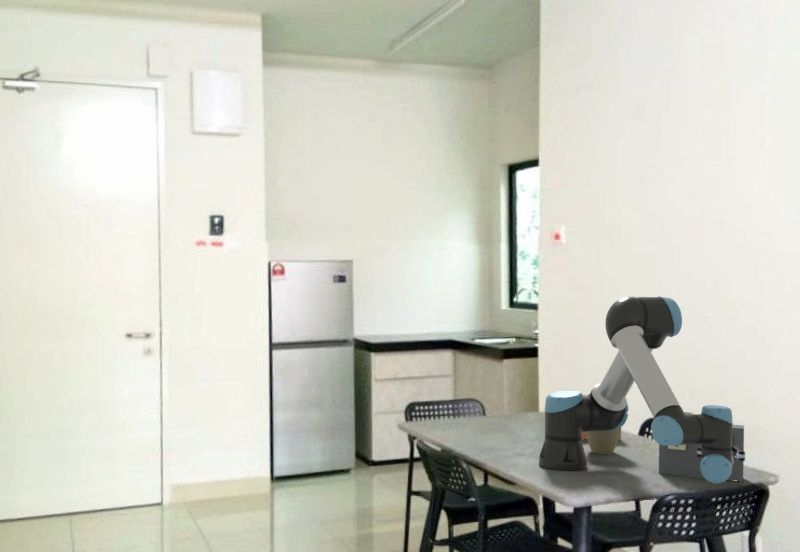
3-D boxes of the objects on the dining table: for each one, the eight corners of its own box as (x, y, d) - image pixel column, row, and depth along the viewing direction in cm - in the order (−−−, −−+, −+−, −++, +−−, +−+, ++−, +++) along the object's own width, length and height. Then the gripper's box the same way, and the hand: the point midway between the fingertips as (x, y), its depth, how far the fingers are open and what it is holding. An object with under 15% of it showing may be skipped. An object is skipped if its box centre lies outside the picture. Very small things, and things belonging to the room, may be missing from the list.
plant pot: (587, 445, 296) (588, 401, 296) (628, 450, 289) (629, 405, 289) (574, 453, 283) (574, 406, 283) (617, 458, 276) (618, 410, 276)
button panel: (742, 482, 246) (743, 428, 246) (658, 473, 256) (659, 421, 256) (743, 478, 251) (744, 425, 251) (661, 469, 261) (661, 418, 261)
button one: (685, 450, 249) (685, 433, 249) (668, 448, 251) (668, 432, 251) (686, 448, 252) (686, 432, 252) (669, 446, 254) (669, 430, 254)
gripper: (693, 470, 228) (700, 454, 250) (744, 475, 223) (747, 459, 244) (693, 443, 229) (700, 429, 250) (745, 447, 223) (747, 433, 245)
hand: (724, 444), depth 247 cm, fingers closed
